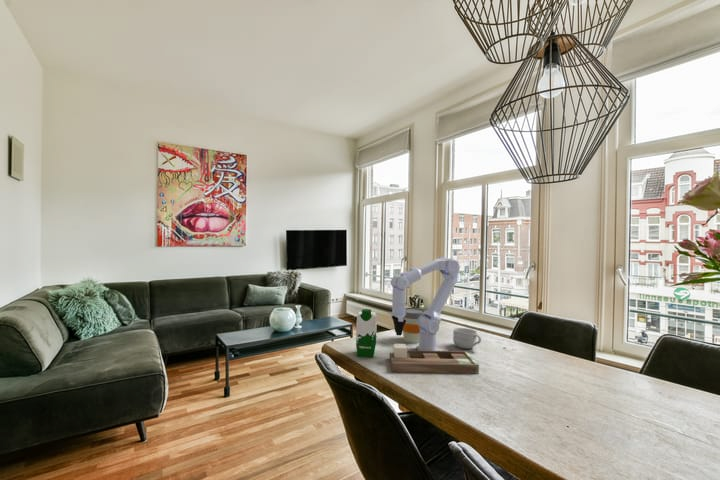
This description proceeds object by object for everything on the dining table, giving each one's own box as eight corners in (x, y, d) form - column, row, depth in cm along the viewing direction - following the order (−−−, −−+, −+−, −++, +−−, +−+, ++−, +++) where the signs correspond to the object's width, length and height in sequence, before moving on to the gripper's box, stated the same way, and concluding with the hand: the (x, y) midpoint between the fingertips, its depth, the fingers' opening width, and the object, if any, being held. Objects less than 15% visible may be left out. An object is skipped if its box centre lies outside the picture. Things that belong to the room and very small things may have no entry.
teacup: (448, 344, 160) (448, 328, 160) (465, 341, 165) (465, 325, 164) (468, 354, 147) (469, 336, 147) (486, 351, 152) (487, 333, 152)
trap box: (388, 357, 142) (388, 350, 142) (465, 358, 142) (466, 351, 142) (392, 372, 127) (392, 363, 127) (478, 373, 127) (478, 365, 127)
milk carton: (354, 357, 141) (355, 310, 141) (357, 349, 150) (357, 306, 150) (375, 358, 141) (376, 311, 140) (376, 350, 150) (377, 307, 149)
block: (393, 353, 141) (393, 343, 140) (405, 353, 141) (405, 343, 140) (394, 357, 136) (394, 347, 135) (406, 357, 136) (407, 348, 136)
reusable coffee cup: (411, 334, 175) (412, 306, 174) (430, 340, 165) (431, 311, 165) (394, 339, 167) (395, 309, 166) (413, 346, 157) (414, 314, 157)
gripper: (388, 299, 152) (387, 328, 152) (391, 306, 137) (390, 338, 138) (403, 299, 152) (402, 328, 152) (408, 306, 137) (407, 339, 138)
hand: (398, 333), depth 145 cm, fingers open, 4 cm apart
